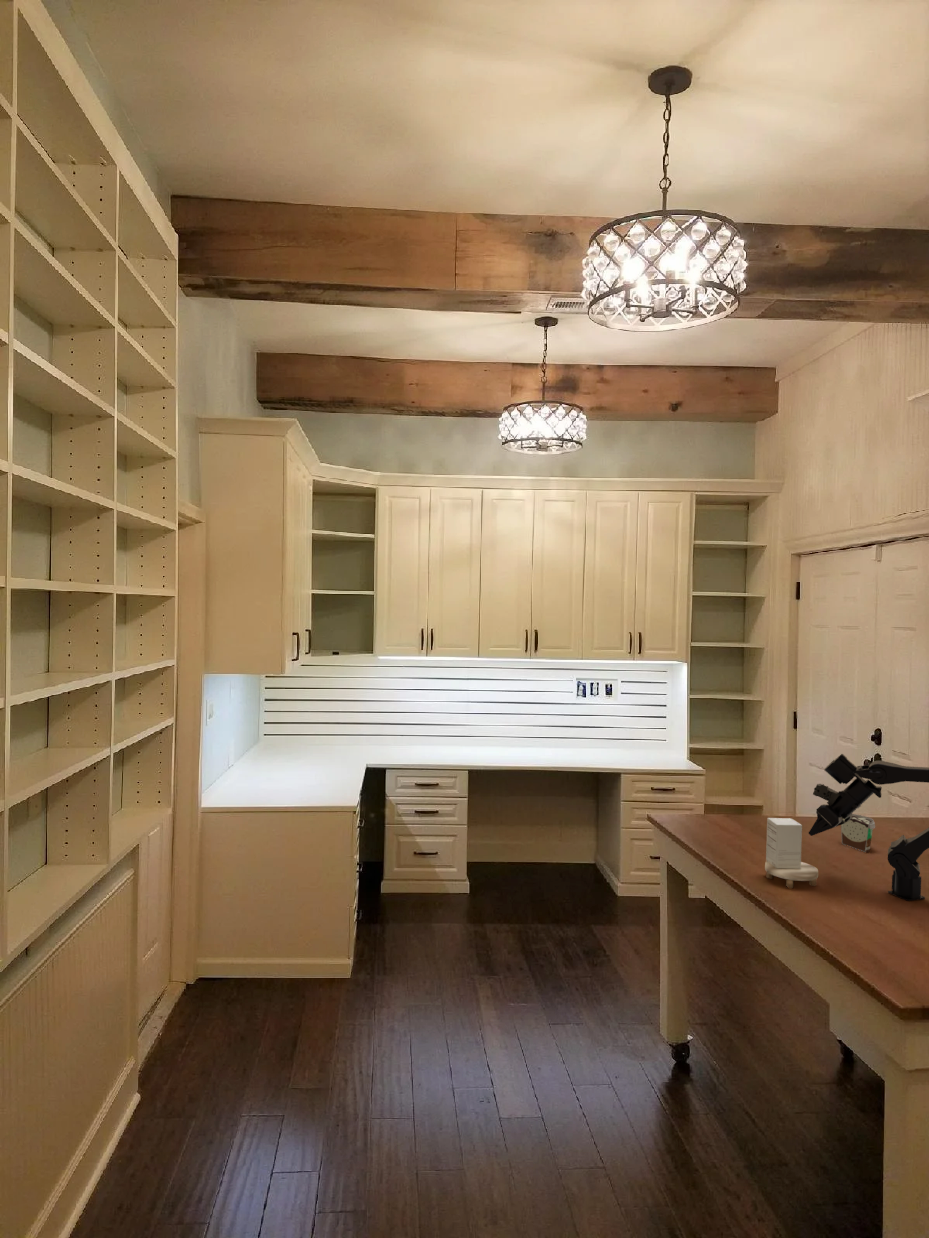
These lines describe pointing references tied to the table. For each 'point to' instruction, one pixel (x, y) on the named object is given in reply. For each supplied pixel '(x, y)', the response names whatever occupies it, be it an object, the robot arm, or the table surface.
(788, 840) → the supplement box
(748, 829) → the table surface
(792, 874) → the stool
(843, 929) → the table surface
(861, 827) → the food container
